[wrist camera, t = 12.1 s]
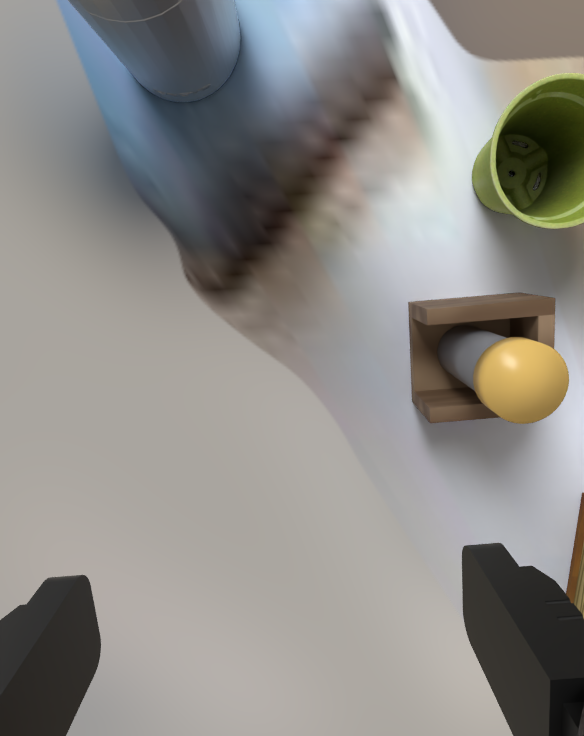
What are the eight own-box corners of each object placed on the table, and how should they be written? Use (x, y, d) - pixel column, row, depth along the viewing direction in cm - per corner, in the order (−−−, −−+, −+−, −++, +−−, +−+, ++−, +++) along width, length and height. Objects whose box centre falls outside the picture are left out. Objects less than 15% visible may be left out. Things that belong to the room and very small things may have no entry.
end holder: (408, 302, 44) (426, 309, 38) (519, 292, 43) (555, 298, 38) (412, 401, 45) (430, 423, 40) (518, 392, 45) (552, 413, 39)
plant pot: (435, 219, 42) (472, 210, 34) (469, 97, 40) (517, 55, 32) (543, 246, 43) (606, 243, 34) (582, 127, 41) (659, 93, 32)
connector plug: (431, 322, 43) (483, 345, 31) (493, 317, 43) (569, 337, 31) (433, 383, 44) (484, 427, 32) (494, 377, 44) (568, 419, 32)
